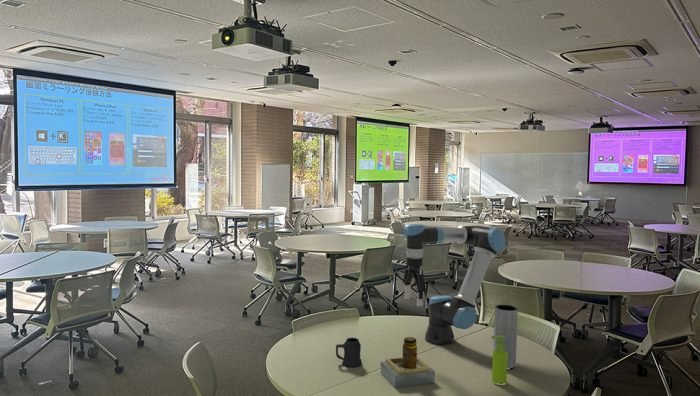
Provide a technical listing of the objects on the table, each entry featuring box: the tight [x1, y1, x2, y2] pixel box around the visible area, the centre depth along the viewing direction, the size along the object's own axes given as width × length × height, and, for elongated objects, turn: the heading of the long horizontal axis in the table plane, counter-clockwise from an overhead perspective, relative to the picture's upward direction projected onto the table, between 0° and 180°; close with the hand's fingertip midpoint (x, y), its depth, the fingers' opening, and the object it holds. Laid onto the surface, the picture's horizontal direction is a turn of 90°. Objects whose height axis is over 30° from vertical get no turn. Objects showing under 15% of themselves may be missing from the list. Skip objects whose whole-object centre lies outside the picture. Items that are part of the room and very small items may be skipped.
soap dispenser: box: [490, 335, 508, 384], centre depth 221 cm, size 6×7×20 cm
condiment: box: [395, 336, 420, 369], centre depth 225 cm, size 7×8×12 cm
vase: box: [492, 304, 519, 368], centre depth 241 cm, size 10×10×27 cm
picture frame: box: [380, 356, 436, 389], centre depth 227 cm, size 18×19×6 cm
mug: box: [335, 337, 363, 368], centre depth 240 cm, size 12×9×11 cm
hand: (413, 302), depth 247 cm, fingers open, 13 cm apart
